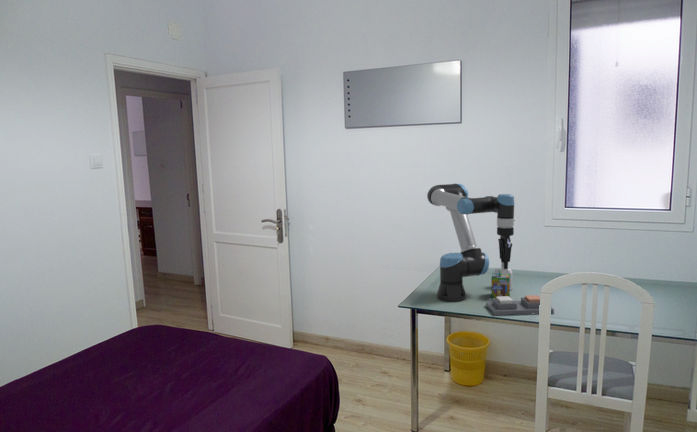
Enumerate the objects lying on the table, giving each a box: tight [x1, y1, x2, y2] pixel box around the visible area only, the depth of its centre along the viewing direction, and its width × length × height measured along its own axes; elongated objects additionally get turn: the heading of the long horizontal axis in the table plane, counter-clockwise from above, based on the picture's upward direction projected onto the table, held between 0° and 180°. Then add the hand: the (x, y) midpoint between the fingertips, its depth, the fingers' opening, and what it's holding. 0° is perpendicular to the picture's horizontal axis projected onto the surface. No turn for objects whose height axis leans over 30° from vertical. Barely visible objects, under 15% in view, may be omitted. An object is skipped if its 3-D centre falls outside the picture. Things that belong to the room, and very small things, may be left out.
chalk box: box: [490, 269, 511, 299], centre depth 246 cm, size 9×9×15 cm
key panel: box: [485, 296, 555, 316], centre depth 226 cm, size 28×14×4 cm, turn 90°
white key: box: [496, 296, 514, 304], centre depth 225 cm, size 6×6×2 cm
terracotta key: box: [524, 294, 541, 303], centre depth 225 cm, size 6×6×2 cm
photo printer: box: [493, 266, 514, 291], centre depth 260 cm, size 10×4×12 cm, turn 39°
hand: (504, 274), depth 224 cm, fingers closed
